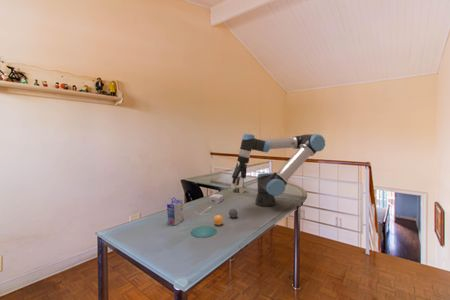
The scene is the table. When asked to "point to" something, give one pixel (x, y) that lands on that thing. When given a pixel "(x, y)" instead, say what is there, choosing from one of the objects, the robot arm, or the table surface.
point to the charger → (215, 198)
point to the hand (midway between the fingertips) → (236, 187)
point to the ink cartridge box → (175, 211)
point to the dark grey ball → (233, 213)
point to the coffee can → (238, 189)
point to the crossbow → (205, 211)
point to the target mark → (203, 231)
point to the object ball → (218, 219)
